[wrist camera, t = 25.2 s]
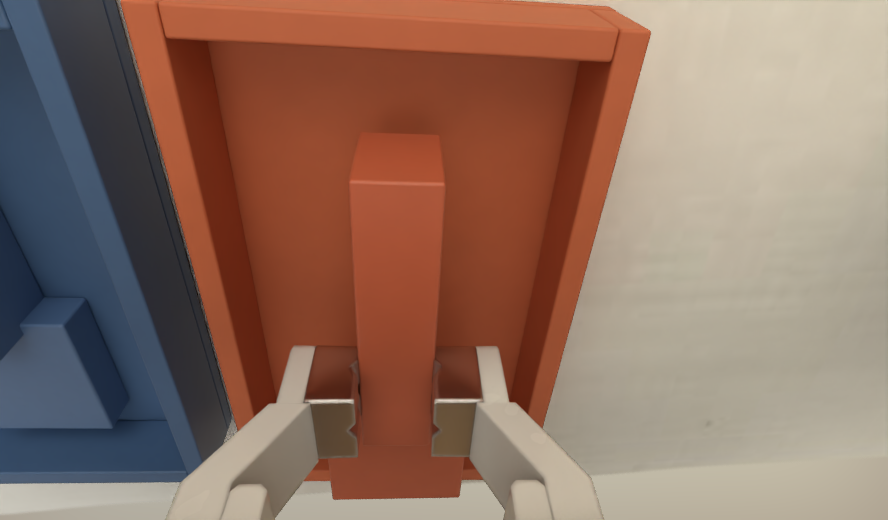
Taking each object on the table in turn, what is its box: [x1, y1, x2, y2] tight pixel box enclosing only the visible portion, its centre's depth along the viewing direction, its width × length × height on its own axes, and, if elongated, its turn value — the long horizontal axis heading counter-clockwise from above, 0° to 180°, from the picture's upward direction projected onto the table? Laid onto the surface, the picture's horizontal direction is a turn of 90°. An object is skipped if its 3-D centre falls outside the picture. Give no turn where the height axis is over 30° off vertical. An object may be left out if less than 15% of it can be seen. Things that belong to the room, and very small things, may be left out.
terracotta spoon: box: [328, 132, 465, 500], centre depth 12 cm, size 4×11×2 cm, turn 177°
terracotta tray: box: [121, 0, 651, 481], centre depth 14 cm, size 9×14×2 cm, turn 176°
